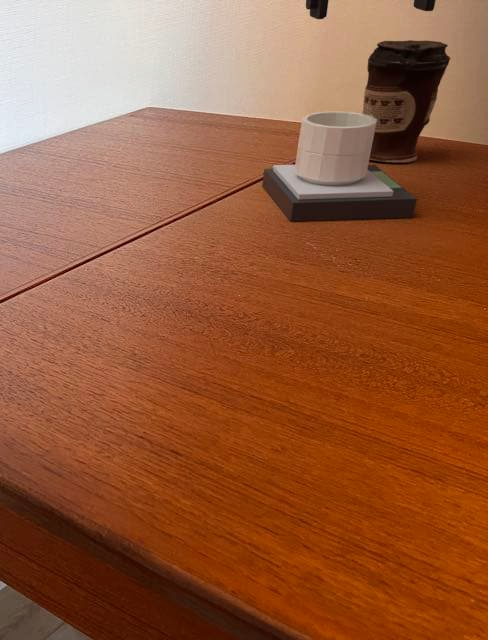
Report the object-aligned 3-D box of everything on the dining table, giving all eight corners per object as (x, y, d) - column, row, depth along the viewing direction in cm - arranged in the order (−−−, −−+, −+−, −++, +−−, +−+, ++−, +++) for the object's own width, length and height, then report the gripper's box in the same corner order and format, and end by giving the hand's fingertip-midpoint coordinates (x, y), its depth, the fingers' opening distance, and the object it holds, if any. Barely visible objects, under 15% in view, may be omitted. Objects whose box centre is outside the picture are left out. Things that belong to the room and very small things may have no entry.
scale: (371, 182, 97) (376, 159, 95) (412, 217, 86) (418, 192, 85) (261, 186, 98) (265, 163, 96) (290, 221, 88) (294, 196, 86)
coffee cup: (399, 171, 99) (425, 52, 92) (334, 158, 105) (354, 45, 98) (439, 156, 103) (467, 40, 97) (374, 144, 109) (396, 34, 103)
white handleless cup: (352, 166, 94) (363, 109, 90) (375, 186, 88) (387, 126, 84) (286, 168, 94) (294, 112, 91) (304, 188, 88) (314, 128, 85)
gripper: (311, -199, 71) (286, 25, 80) (534, -221, 69) (483, 11, 78) (287, -191, 77) (266, 15, 86) (491, -211, 75) (448, 2, 84)
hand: (369, 13), depth 82 cm, fingers open, 9 cm apart
